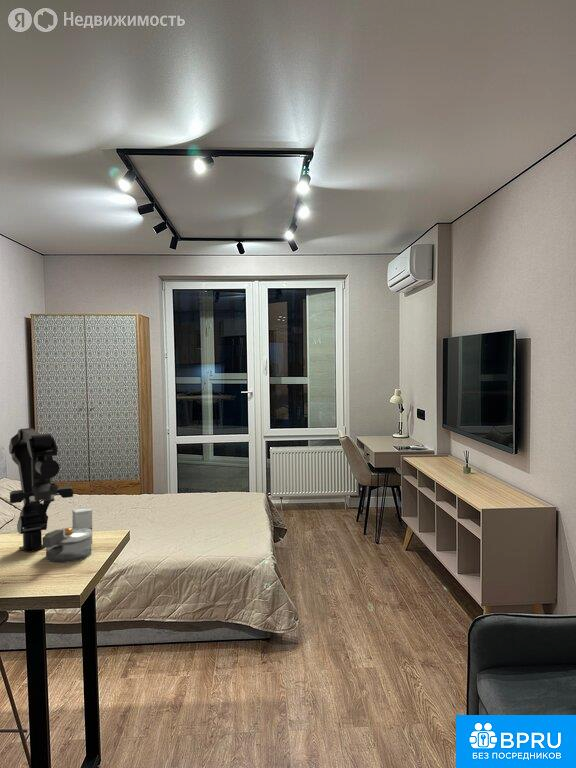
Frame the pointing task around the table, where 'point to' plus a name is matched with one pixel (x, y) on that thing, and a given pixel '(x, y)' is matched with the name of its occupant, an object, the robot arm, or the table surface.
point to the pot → (69, 551)
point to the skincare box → (82, 518)
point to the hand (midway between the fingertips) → (42, 520)
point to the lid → (66, 536)
